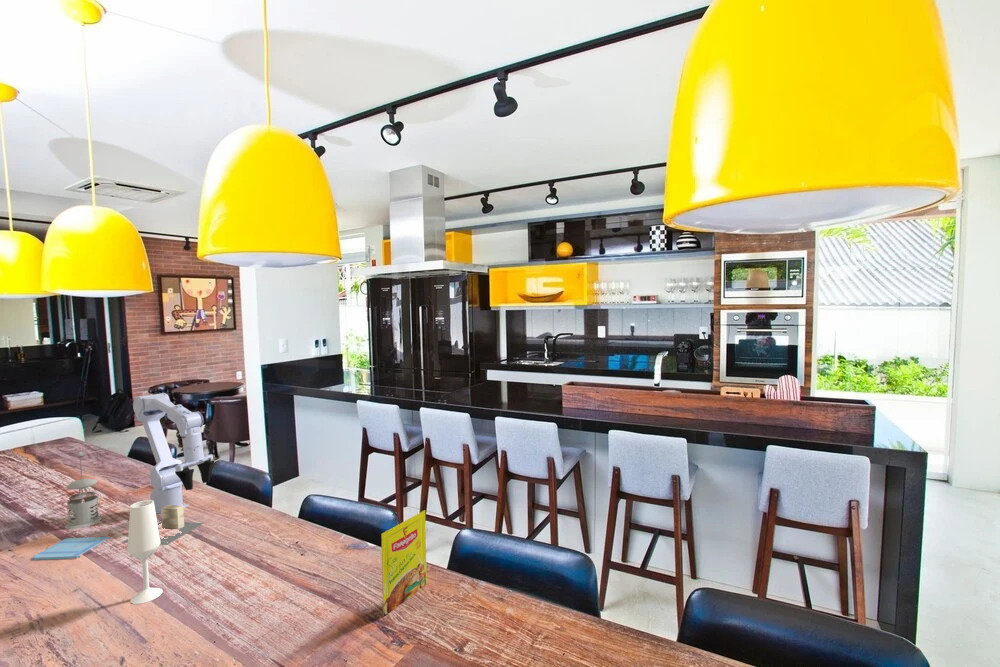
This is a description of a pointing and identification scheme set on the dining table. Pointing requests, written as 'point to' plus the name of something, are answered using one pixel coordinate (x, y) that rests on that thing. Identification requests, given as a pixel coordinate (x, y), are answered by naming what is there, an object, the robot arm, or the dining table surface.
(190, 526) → the mat
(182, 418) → the robot arm
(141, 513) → the champagne flute
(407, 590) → the food package
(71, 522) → the french press
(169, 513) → the beige and teal block
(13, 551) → the dining table surface
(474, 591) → the dining table surface
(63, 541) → the folded blue cloth
